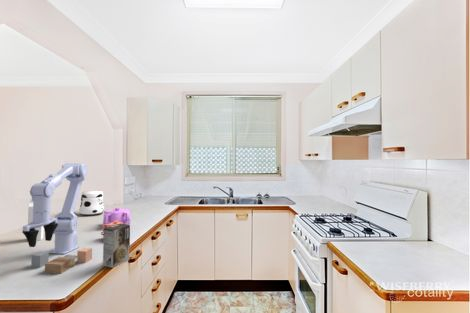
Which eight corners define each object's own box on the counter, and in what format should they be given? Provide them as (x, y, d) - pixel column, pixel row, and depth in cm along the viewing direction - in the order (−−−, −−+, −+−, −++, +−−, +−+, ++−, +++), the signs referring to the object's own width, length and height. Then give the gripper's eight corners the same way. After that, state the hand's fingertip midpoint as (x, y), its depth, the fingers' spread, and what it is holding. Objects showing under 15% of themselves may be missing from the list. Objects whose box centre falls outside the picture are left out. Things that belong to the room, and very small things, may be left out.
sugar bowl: (122, 242, 133) (122, 223, 134) (95, 242, 132) (96, 223, 133) (130, 235, 146) (130, 218, 146) (106, 235, 145) (106, 218, 145)
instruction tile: (66, 255, 114) (66, 254, 114) (78, 256, 113) (78, 255, 113) (52, 262, 106) (52, 261, 106) (65, 263, 105) (65, 262, 105)
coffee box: (119, 257, 113) (120, 222, 113) (129, 260, 110) (130, 224, 110) (101, 265, 104) (103, 227, 104) (112, 268, 102) (113, 229, 102)
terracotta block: (83, 258, 111) (83, 247, 111) (91, 259, 110) (92, 248, 111) (77, 262, 107) (77, 251, 107) (85, 262, 106) (85, 251, 107)
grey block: (39, 263, 105) (40, 251, 105) (48, 263, 105) (48, 252, 105) (31, 267, 101) (31, 255, 101) (40, 267, 101) (40, 255, 101)
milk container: (108, 213, 199) (109, 192, 200) (86, 217, 185) (86, 194, 185) (96, 211, 209) (97, 190, 209) (75, 214, 194) (75, 192, 194)
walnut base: (59, 264, 104) (59, 256, 104) (74, 265, 103) (74, 257, 103) (44, 272, 97) (45, 263, 97) (60, 273, 96) (61, 264, 96)
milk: (30, 238, 136) (31, 199, 137) (43, 237, 139) (44, 198, 139) (27, 241, 131) (28, 200, 131) (41, 240, 134) (42, 200, 134)
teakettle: (102, 230, 154) (103, 211, 154) (103, 223, 169) (103, 206, 170) (131, 227, 162) (132, 209, 162) (129, 221, 177) (130, 204, 177)
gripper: (47, 207, 111) (46, 237, 111) (16, 214, 97) (15, 249, 96) (62, 208, 110) (61, 238, 110) (32, 215, 96) (31, 250, 96)
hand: (40, 243), depth 103 cm, fingers open, 7 cm apart
